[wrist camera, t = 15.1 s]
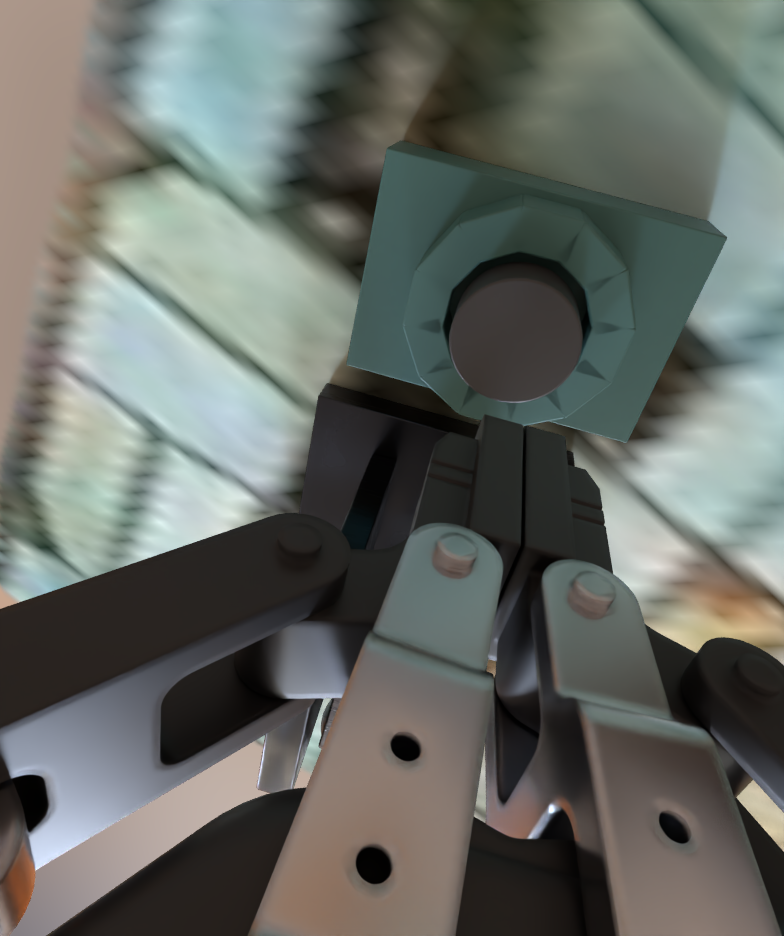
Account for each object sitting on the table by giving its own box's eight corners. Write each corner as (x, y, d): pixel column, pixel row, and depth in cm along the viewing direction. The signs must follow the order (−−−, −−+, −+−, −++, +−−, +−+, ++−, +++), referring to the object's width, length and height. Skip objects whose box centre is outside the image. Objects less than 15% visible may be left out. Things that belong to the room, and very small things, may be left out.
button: (598, 280, 18) (604, 299, 17) (553, 392, 20) (555, 418, 19) (473, 246, 18) (468, 262, 17) (441, 361, 20) (434, 384, 19)
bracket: (510, 596, 29) (496, 899, 19) (300, 535, 30) (169, 797, 19) (573, 451, 25) (603, 740, 14) (326, 382, 25) (175, 611, 15)
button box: (710, 221, 20) (745, 252, 17) (619, 414, 24) (633, 471, 20) (400, 140, 20) (373, 154, 17) (360, 342, 24) (332, 386, 21)
